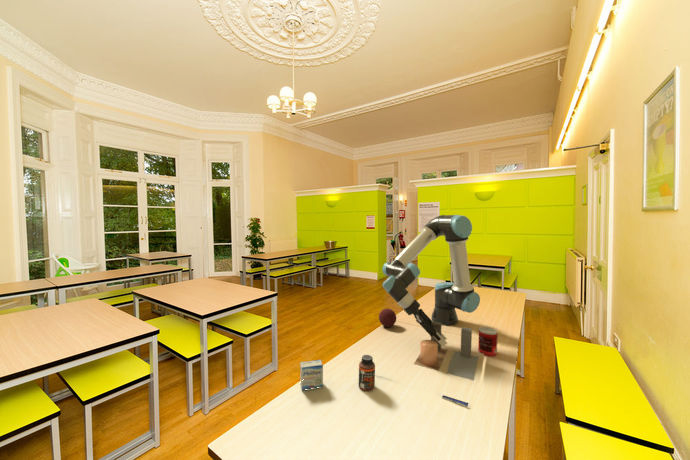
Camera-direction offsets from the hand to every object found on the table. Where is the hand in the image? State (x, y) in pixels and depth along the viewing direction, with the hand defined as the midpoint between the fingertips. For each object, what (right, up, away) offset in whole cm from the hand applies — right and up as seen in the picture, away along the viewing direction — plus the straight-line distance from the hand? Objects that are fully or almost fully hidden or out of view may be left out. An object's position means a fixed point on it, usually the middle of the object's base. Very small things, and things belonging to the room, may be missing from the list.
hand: (444, 342), depth 130 cm
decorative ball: (-22, -3, +31) cm, 38 cm away
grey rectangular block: (+3, -5, -12) cm, 14 cm away
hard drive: (-6, -7, -30) cm, 31 cm away
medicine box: (-59, -6, -26) cm, 64 cm away
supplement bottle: (-38, -6, -26) cm, 47 cm away
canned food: (+20, -5, 0) cm, 20 cm away
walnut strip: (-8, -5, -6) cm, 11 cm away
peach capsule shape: (-11, -4, -11) cm, 16 cm away
